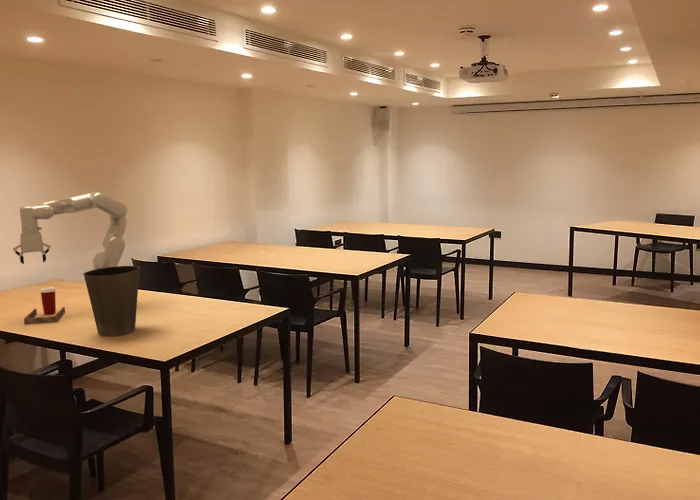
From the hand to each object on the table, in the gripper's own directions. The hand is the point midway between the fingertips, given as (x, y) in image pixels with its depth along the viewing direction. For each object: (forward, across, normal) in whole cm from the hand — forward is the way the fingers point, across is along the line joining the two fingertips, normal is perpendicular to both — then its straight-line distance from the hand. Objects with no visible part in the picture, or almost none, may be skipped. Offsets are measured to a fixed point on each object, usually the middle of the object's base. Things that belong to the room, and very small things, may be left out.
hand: (33, 262), depth 309 cm
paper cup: (+30, -5, -8) cm, 31 cm away
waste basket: (+30, -35, +44) cm, 64 cm away
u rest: (+30, -3, +1) cm, 30 cm away
